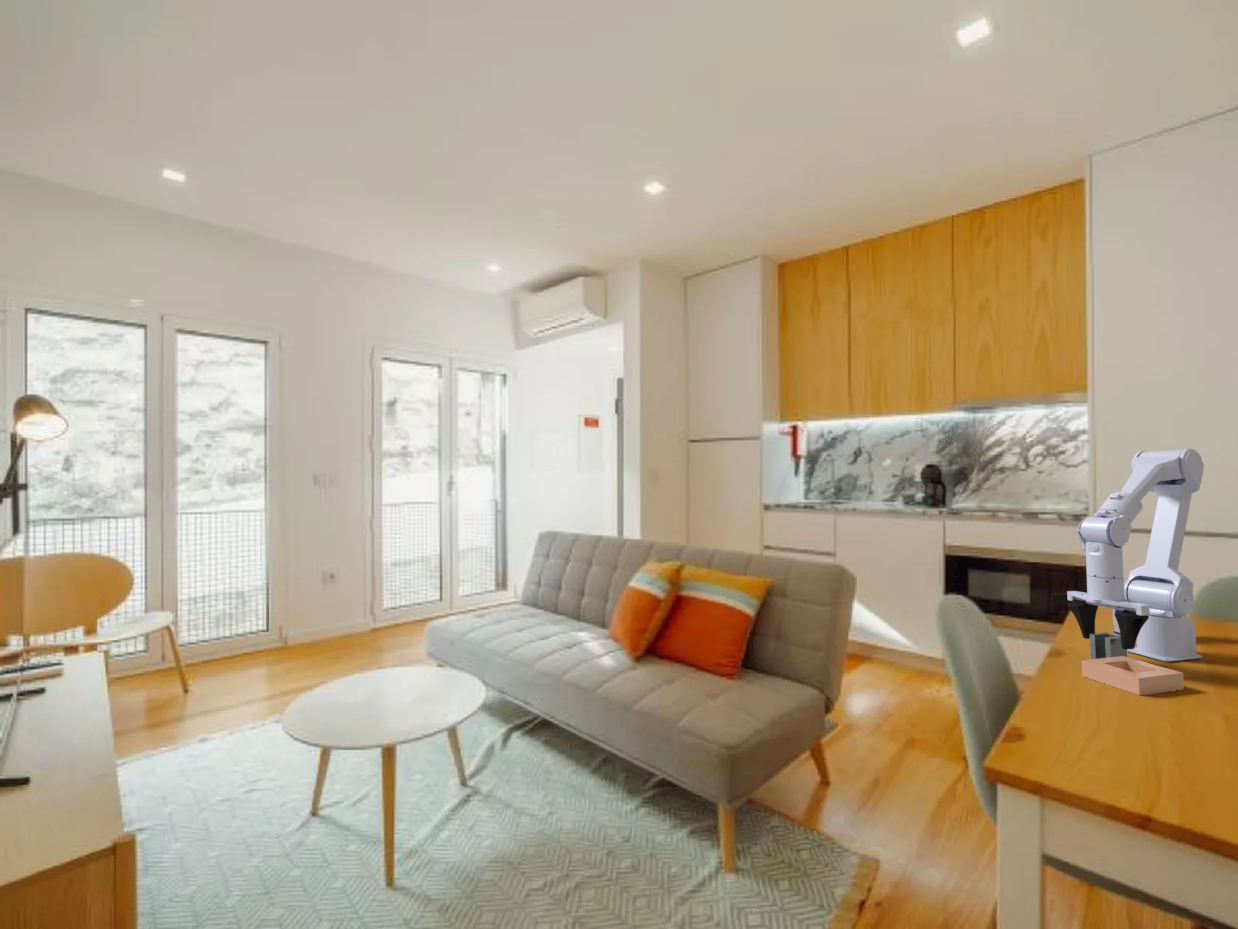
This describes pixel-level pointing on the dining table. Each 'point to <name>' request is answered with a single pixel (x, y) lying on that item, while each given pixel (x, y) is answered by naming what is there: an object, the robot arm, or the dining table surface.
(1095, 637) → the bracket
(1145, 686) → the well
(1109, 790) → the dining table surface
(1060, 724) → the dining table surface
